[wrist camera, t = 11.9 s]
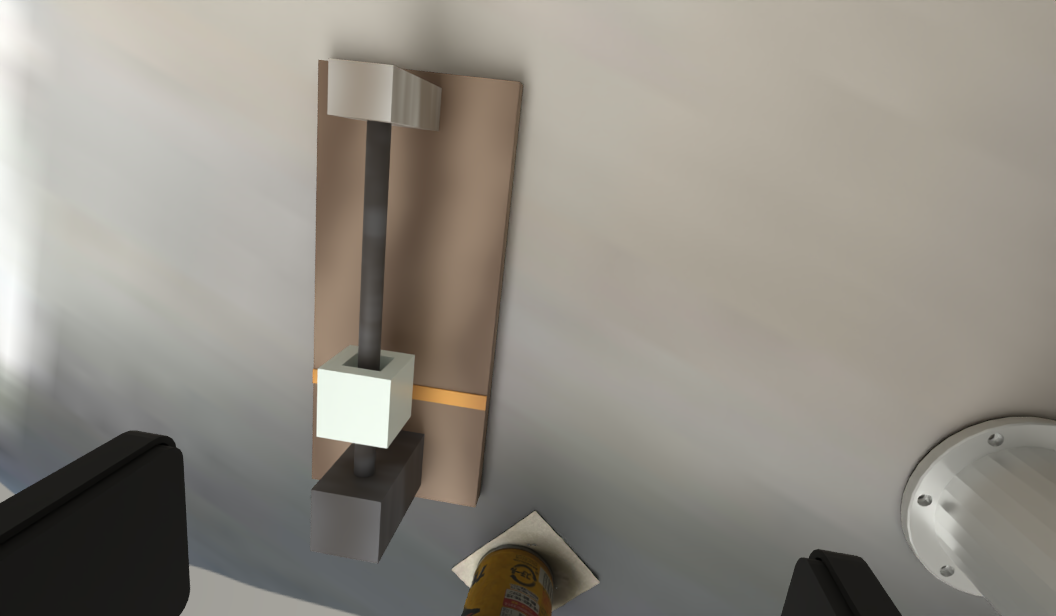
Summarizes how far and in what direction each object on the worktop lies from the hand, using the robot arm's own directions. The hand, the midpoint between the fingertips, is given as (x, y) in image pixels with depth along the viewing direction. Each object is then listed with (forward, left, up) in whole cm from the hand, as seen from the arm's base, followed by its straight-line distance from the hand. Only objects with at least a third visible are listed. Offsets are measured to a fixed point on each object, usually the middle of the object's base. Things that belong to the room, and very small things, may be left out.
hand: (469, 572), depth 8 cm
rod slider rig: (+10, +4, -28) cm, 30 cm away
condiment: (0, +24, -29) cm, 37 cm away
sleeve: (+10, +8, -23) cm, 27 cm away
